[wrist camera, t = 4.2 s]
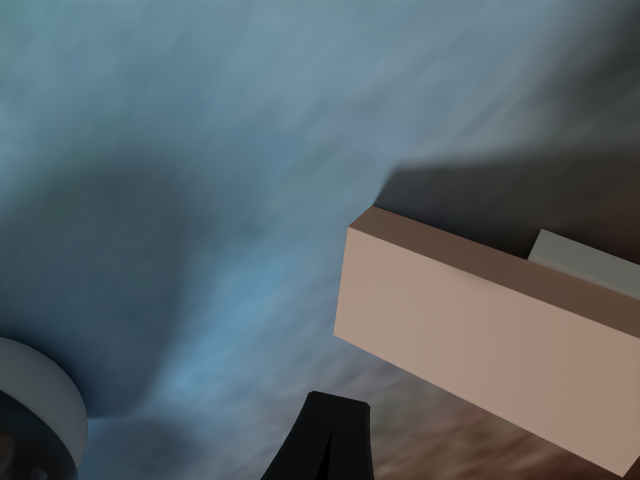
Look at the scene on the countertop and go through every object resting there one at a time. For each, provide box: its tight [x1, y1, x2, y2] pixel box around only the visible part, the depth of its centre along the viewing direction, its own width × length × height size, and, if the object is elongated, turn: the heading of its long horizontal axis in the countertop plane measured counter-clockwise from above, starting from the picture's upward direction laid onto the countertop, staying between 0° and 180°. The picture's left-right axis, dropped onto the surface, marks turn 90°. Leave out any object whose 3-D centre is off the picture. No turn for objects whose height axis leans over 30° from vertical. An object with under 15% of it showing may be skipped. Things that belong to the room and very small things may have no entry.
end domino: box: [334, 205, 640, 477], centre depth 14 cm, size 2×4×9 cm
